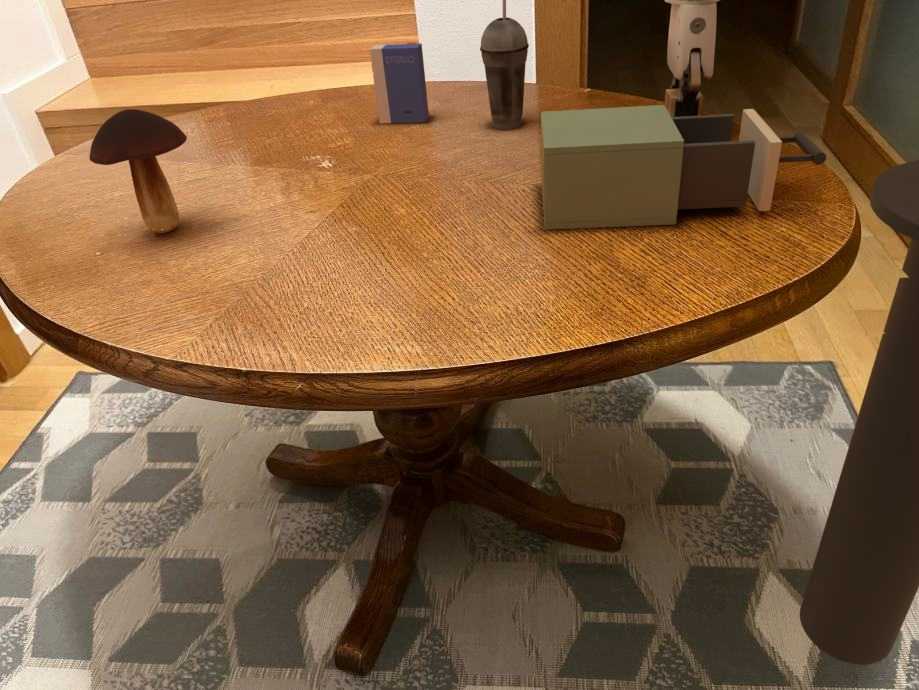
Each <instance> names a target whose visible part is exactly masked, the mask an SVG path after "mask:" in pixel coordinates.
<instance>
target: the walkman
mask: <svg viewBox="0 0 919 690" xmlns="http://www.w3.org/2000/svg"><path fill="white" fill-rule="evenodd" d="M369 55H370V62H371V71H372V78H373V85H374V93H375V101H376V107H377V113H378V122H379V124H412V123H413V124H415V123H416V124H417V123H419V124H420V123H426V122H427V121H428V119H429V118H430V114H429V102H428V93H427V83H426V73H425V72H426V71H425V63H424V53H423V44H422V42H421V43H416V41H407V42H406V43H399V44H397V43H396V44H395V43H394V44H393V43H392V44H375V45H374V46H372V47H370V48H369Z"/></svg>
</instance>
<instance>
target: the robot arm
mask: <svg viewBox="0 0 919 690" xmlns="http://www.w3.org/2000/svg"><path fill="white" fill-rule="evenodd" d="M719 1H721V0H664V2H665V3H667V4H671V8H670V16H669V26H668V37H667V52H666V63H667V67H668V68H669V70H670V72H671V76H670V82H669V89H679V90H678V100H677V101H676V103H675V114H674V117H683V116H698V107H699V96H700V93H701V85H702V83H701V82H702V81H701V80H702V79H701V77H702V76H701V74H702V75H703V77H704V78H705V80H710V79H711V78H712V77H713V75H714V66H715V54H716V53H715V52H716V51H715V50H716V40H717V39H716V38H717V37H716V36H717V14H718V13H717V12H718V11H717V2H719Z"/></svg>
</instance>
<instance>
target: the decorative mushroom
mask: <svg viewBox="0 0 919 690" xmlns="http://www.w3.org/2000/svg"><path fill="white" fill-rule="evenodd" d="M187 139H188V137H187V135H186V133H184V131H182V129H181V128H179V126H178V125H176V124H175V123H174V122H172V121H171V120H168V119H167V118H164V117H162V116H161V115H158V114H156V113H153V112H150V111H145V110H142V109H134V108H132V109H129V108H128V109H127V108H126V109H122V110H120V111H118V112H116V113H115V114H113V115H112V116H111V117H109V118H108V119H107V120H105V121H104V123H103V124H102V125H101V126H100V127H99V129H98V131H97V132H96V134H95V136H94V137H93V140H92V142H91V145H90V149H89V157H88V158H89V161H90V162H92V163H94V164H97V165H101V166H112V165H115V164H119V163H123V162H128V164H129V168H130V169H129V170H130V174H131V175H130V176H131V179H132V184H133V189H134V194H135V198H136V201H137V205H138V208H139V211H140V214H141V218H142V220H143V222H144V224H145V226H146V227H147V228H148V230H149V231H152V232H153V233H157V234H166V233H169V232H171V231H173V230H174V229H175V228H176V227H177V226H178V225H179V223H180V214H179V213H180V212H179V209H178V206H177V202H176V200H175V197H174V195H173V192H172V189H171V186H170V184H169V181H168V179H167V177H166V175H165V173H164V172H163V169H162V168H161V166H160V162H159V161H158V158H157V157H158V156H161V155H164V154H167V153H169V152H173V151H174V150H176V149H178V148H179V147H181V146H182V145H184V144H185V143H186V141H187ZM151 229H154V230H151ZM161 229H163V230H161Z"/></svg>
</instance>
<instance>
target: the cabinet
mask: <svg viewBox="0 0 919 690" xmlns="http://www.w3.org/2000/svg"><path fill="white" fill-rule="evenodd" d="M683 147H684V140H683V138H682V136H681V134H680V132H679V131H678V129H677V127H676V125H675V123H674V121H673V120H672V118H671V116H670V114H669V112H668V111H667V109H666V107H665V104H657V105H656V104H654V105H653V104H651V105H636V106H635V105H634V106H618V107H617V106H616V107H603V108H601V107H600V108H585V109H584V108H583V109H565V110H550V111H549V110H548V111H547V110H546V111H540V158H541V168H540V169H541V170H540V171H541V195H542V210H543V211H542V212H543V226H544V231H549V230H551V231H552V230H553V231H554V230H573V229H575V230H576V229H597V228H600V229H601V228H620V227H621V228H624V227H644V226H645V227H646V226H647V227H648V226H649V227H650V226H669V225H677V219H678V218H677V217H678V210H679V209H678V199H679V189H680V179H681V168H682V158H683Z"/></svg>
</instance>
